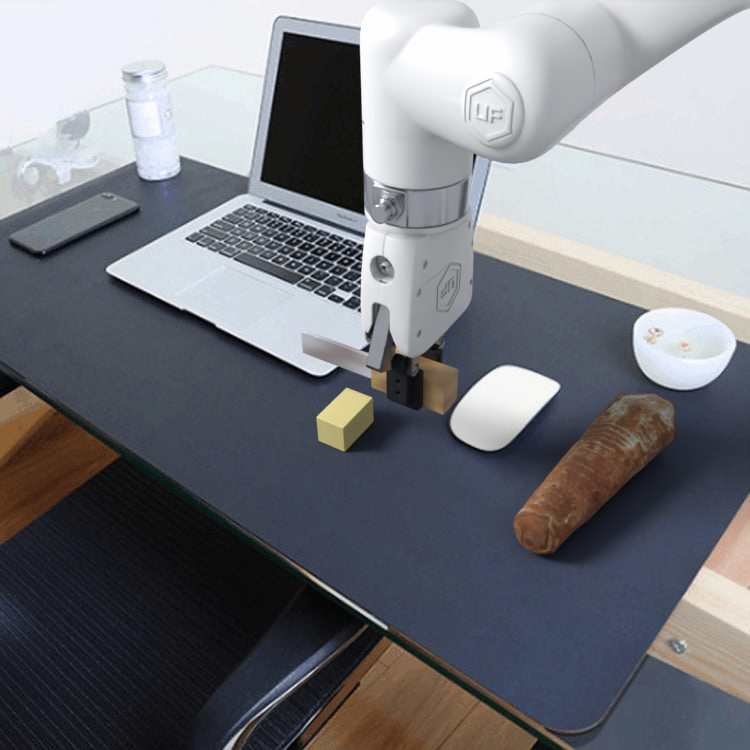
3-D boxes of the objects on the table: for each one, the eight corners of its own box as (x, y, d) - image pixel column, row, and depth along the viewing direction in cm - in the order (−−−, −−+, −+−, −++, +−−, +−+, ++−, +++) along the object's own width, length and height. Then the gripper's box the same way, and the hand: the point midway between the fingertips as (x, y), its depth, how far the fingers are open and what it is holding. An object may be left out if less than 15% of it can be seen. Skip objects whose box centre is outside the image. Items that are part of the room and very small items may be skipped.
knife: (296, 358, 72) (293, 329, 70) (311, 345, 73) (309, 316, 71) (443, 415, 65) (444, 385, 63) (456, 399, 67) (458, 369, 65)
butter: (347, 411, 78) (346, 387, 76) (373, 421, 76) (373, 397, 74) (318, 441, 74) (316, 416, 72) (344, 452, 73) (343, 428, 71)
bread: (674, 452, 72) (688, 405, 69) (550, 575, 62) (559, 527, 58) (613, 420, 76) (623, 374, 72) (486, 531, 65) (491, 484, 62)
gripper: (405, 255, 49) (403, 467, 60) (514, 162, 60) (495, 357, 71) (306, 226, 52) (323, 432, 64) (426, 142, 63) (422, 333, 74)
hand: (414, 391), depth 67 cm, fingers closed on knife, 2 cm apart
